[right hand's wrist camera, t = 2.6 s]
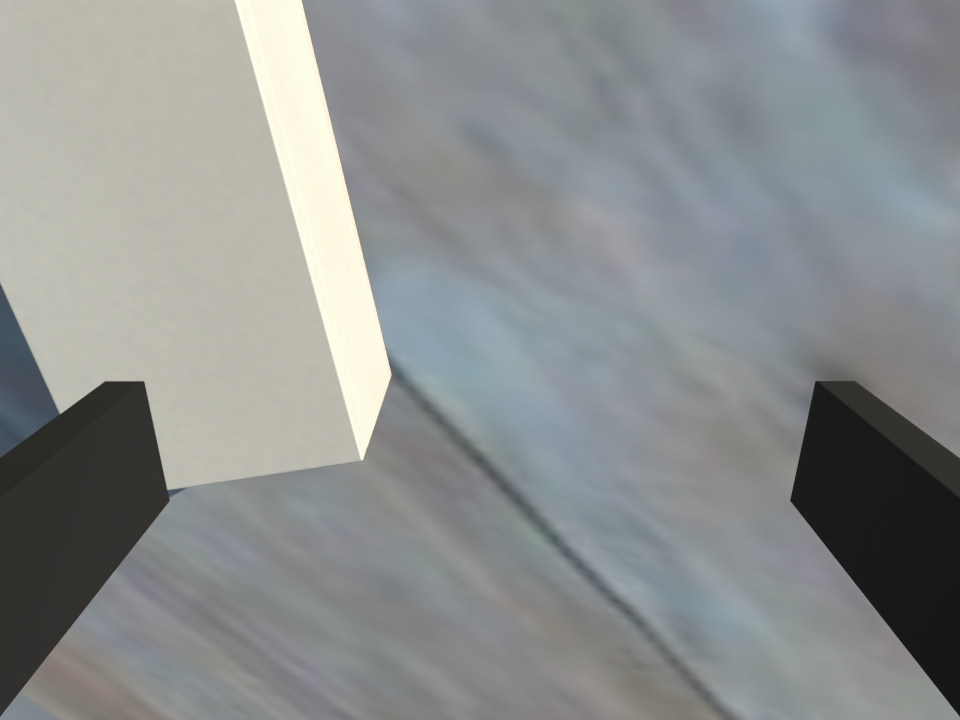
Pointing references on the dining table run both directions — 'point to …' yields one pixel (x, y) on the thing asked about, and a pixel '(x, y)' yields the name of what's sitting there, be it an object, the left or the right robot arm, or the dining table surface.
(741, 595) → the dining table surface
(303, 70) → the cabinet
